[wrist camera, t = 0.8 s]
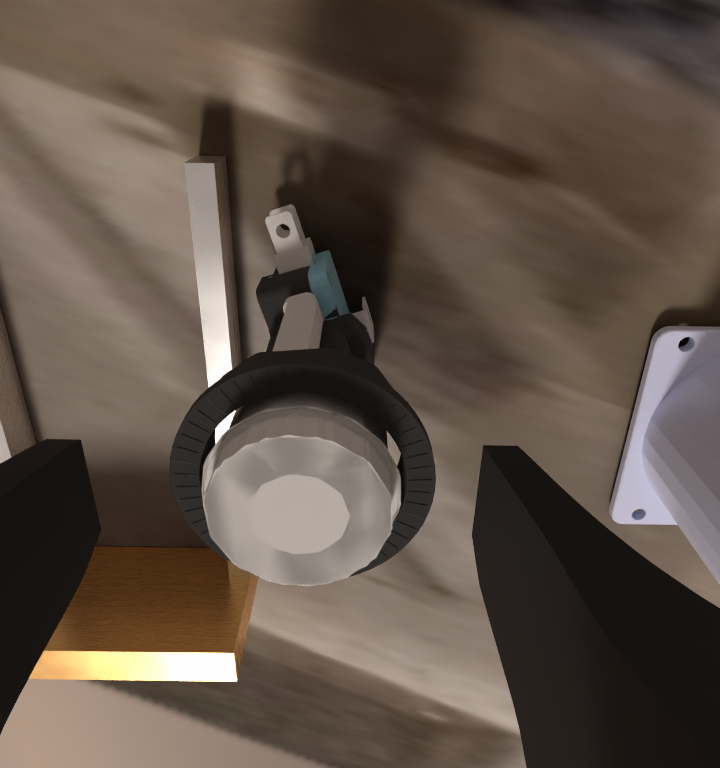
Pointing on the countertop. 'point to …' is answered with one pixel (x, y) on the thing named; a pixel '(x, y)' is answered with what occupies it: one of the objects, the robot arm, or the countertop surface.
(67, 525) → the robot arm
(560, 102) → the countertop surface
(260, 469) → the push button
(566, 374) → the countertop surface
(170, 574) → the rail
